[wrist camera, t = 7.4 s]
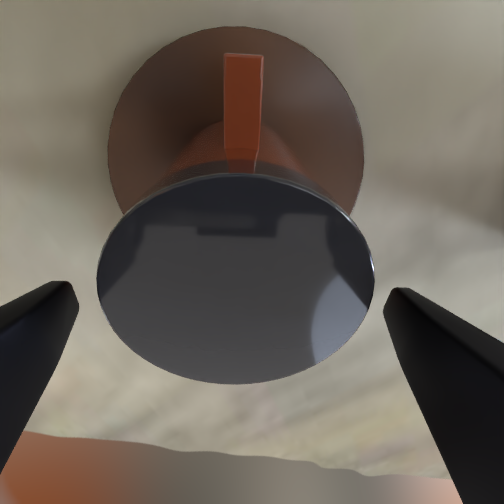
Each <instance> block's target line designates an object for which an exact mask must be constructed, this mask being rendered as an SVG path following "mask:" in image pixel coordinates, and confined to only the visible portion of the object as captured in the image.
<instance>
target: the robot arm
mask: <svg viewBox="0 0 504 504" xmlns="http://www.w3.org/2000/svg"><path fill="white" fill-rule="evenodd" d="M78 312H79V303H78V300H77V297H76V295H75V292H74V290H73V287H72V285H71V284H70V283H69V282H67V281H51V282H48V283H46V284H44V285H42V286H40V287H38V288H36V289H34V290H32V291H30V292H28V293H26V294H25V295H23V296H21V297H19V298H17V299H15V300H13V301H11V302H9V303H7V304H5V305H3V306H1V307H0V474H1V472H2V470H3V468H4V466H5V464H6V462H7V460H8V458H9V457H10V455H11V453H12V451H13V449H14V447H15V445H16V443H17V441H18V439H19V437H20V435H21V433H22V432H23V430H24V428H25V426H26V424H27V422H28V420H29V418H30V417H31V415H32V413H33V411H34V409H35V407H36V405H37V403H38V401H39V399H40V397H41V396H42V394H43V392H44V390H45V388H46V386H47V384H48V382H49V380H50V378H51V376H52V375H53V373H54V370H55V368H56V366H57V364H58V362H59V360H60V358H61V355H62V353H63V350H64V348H65V345H66V343H67V340H68V337H69V335H70V332H71V330H72V327H73V325H74V322H75V320H76V317H77V315H78ZM383 315H384V318H385V321H386V324H387V327H388V330H389V333H390V336H391V339H392V342H393V345H394V348H395V351H396V354H397V357H398V360H399V362H400V365H401V367H402V370H403V372H404V374H405V376H406V379H407V381H408V383H409V385H410V387H411V390H412V392H413V394H414V396H415V398H416V401H417V403H418V405H419V407H420V410H421V412H422V414H423V416H424V418H425V421H426V423H427V425H428V427H429V429H430V432H431V434H432V436H433V438H434V440H435V443H436V445H437V447H438V449H439V451H440V454H441V456H442V458H443V460H444V462H445V465H446V467H447V469H448V471H449V473H450V476H451V478H452V480H453V482H454V484H455V487H456V489H457V491H458V493H459V495H460V498H461V500H462V502H463V504H504V343H502V342H501V341H499V340H497V339H496V338H494V337H492V336H490V335H489V334H487V333H485V332H484V331H482V330H480V329H478V328H477V327H475V326H473V325H472V324H470V323H468V322H466V321H465V320H463V319H461V318H460V317H458V316H456V315H454V314H453V313H451V312H449V311H448V310H446V309H444V308H443V307H441V306H439V305H437V304H436V303H434V302H432V301H431V300H429V299H427V298H425V297H424V296H422V295H420V294H419V293H417V292H415V291H413V290H412V289H410V288H398V287H396V288H394V289H392V290H391V292H390V295H389V297H388V299H387V301H386V304H385V306H384V309H383Z"/></svg>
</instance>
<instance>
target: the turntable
mask: <svg viewBox="0 0 504 504" xmlns="http://www.w3.org/2000/svg"><path fill="white" fill-rule="evenodd" d="M225 53H237V54H253V55H262V56H264V74H263V93H262V109H261V124H263V125H266V126H268V127H269V128H271V129H273V130H274V131H276V132H277V133H278V134H280V135H281V136H282V137H283V138H284V139H285V140H286V141H287V142H288V143H289V145H290V146H291V147H292V149H293V150H294V151H295V153H296V154H297V155H298V157H299V158H300V159H301V161H302V162H303V163H304V164H305V166H306V167H307V168H308V170H309V171H310V172H311V174H312V175H313V176H314V178H315V179H316V180H317V182H318V183H319V184H320V185H321V187H322V188H324V189H325V190H326V191H328V192H329V193H330V194H331V195H332V196H333V197H334V198H335V200H336V201H337V202H338V203H339V204H340V205H341V206H342V207H343V209H344V210H345V211H346V212H347V214H348V215H349V216H350V214H351V212H352V210H353V208H354V205H355V203H356V200H357V197H358V194H359V191H360V186H361V182H362V177H363V166H364V147H363V138H362V133H361V127H360V123H359V120H358V117H357V114H356V111H355V108H354V106H353V104H352V102H351V100H350V98H349V96H348V94H347V92H346V90H345V89H344V87H343V86H342V84H341V83H340V81H339V80H338V78H337V77H336V76H335V74H334V73H333V72H332V71H331V70H330V69H329V68H328V67H327V66H326V65H325V64H324V63H323V62H322V61H321V60H320V59H319V58H318V57H316V56H315V55H314V54H313V53H311V52H310V51H309V50H307V49H306V48H305V47H303V46H301V45H299V44H298V43H296V42H294V41H292V40H290V39H288V38H287V37H284V36H281V35H278V34H275V33H272V32H270V31H267V30H262V29H256V28H250V27H217V28H211V29H206V30H201V31H198V32H195V33H192V34H189V35H187V36H184V37H181V38H179V39H177V40H176V41H174V42H172V43H170V44H168V45H167V46H165V47H163V48H162V49H161V50H159V51H158V52H157V53H156V54H154V55H153V56H152V57H151V58H149V59H148V60H147V61H146V62H145V63H144V64H143V65H142V66H141V68H140V69H139V70H138V71H137V72H136V73H135V74H134V75H133V77H132V78H131V80H130V82H129V83H128V85H127V86H126V88H125V89H124V91H123V93H122V95H121V97H120V99H119V102H118V104H117V106H116V108H115V111H114V115H113V118H112V122H111V126H110V131H109V140H108V167H109V173H110V179H111V184H112V187H113V190H114V194H115V197H116V199H117V202H118V204H119V206H120V209H121V211H122V213H123V215H124V214H125V213H126V212H127V211H128V210H129V208H130V207H131V206H132V205H133V204H134V202H135V201H136V200H137V199H138V198H139V197H140V196H141V195H142V194H143V193H145V192H146V191H147V190H148V189H149V188H150V187H151V186H153V185H154V184H155V183H156V182H157V181H158V179H159V178H160V177H161V176H162V174H163V173H164V172H165V171H166V169H167V168H168V167H169V165H170V164H171V163H172V162H173V160H174V159H175V158H176V157H177V155H178V154H179V153H180V152H181V150H182V149H183V148H184V146H185V145H186V144H187V143H188V141H189V140H190V139H191V138H192V137H193V136H194V135H195V134H196V133H198V132H199V131H201V130H202V129H203V128H205V127H207V126H209V125H211V124H214V123H217V122H220V121H224V96H223V56H224V54H225Z"/></svg>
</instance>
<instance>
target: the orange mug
mask: <svg viewBox="0 0 504 504" xmlns="http://www.w3.org/2000/svg"><path fill="white" fill-rule="evenodd" d="M263 74H264V56H262V55H253V54H237V53H225V54H224V56H223V96H224V121H220V122H217V123H214V124H211V125H209V126H207V127H205V128H203V129H202V130H201V131H199V132H198V133H196V134H195V135H194V136H193V137H192V138H191V139H190V140H189V141H188V143H187V144H186V145H185V146H184V148H183V149H182V150H181V152H180V153H179V154H178V155H177V157H176V158H175V159H174V160H173V162H172V163H171V164H170V165H169V167H168V168H167V169H166V171H165V172H164V173H163V174H162V176H161V177H160V178H159V179H158V181H157V182H156V183H155V184H154V185H153V186H151V187H150V188H149V189H148V190H147V191H146V192H145V193H143V194H142V195H141V196H140V197H139V198H138V199H137V200H136V201H135V202H134V204H133V205H132V206H131V207H130V208H129V210H128V211H127V212H126V213H125V214H124V216H123V217H122V218H121V219H120V221H119V222H118V223H117V224H116V226H115V227H114V228H113V230H112V231H111V232H110V234H109V236H108V238H107V240H106V242H105V244H104V246H103V248H102V251H101V254H100V258H99V261H98V268H97V277H96V280H97V293H98V297H99V301H100V305H101V308H102V310H103V313H104V315H105V317H106V319H107V321H108V323H109V324H110V326H111V327H112V329H113V330H114V332H115V333H116V334H117V335H118V337H119V338H120V339H121V340H122V341H123V342H124V343H125V344H126V345H127V346H128V347H129V348H130V349H131V350H132V351H134V352H135V353H136V354H138V355H139V356H141V357H142V358H143V359H145V360H146V361H148V362H150V363H152V364H153V365H155V366H157V367H159V368H161V369H163V370H166V371H168V372H170V373H173V374H176V375H179V376H182V377H185V378H189V379H193V380H197V381H203V382H208V383H217V384H253V383H261V382H267V381H272V380H277V379H280V378H284V377H287V376H291V375H293V374H296V373H299V372H301V371H304V370H306V369H308V368H310V367H312V366H314V365H316V364H318V363H320V362H321V361H323V360H325V359H326V358H328V357H329V356H330V355H332V354H333V353H335V352H336V351H337V350H338V349H340V348H341V347H342V346H343V345H344V344H345V343H346V342H347V341H348V340H349V339H350V338H351V337H352V335H353V334H354V333H355V332H356V331H357V329H358V328H359V326H360V325H361V323H362V322H363V320H364V318H365V316H366V314H367V312H368V309H369V307H370V303H371V300H372V297H373V291H374V283H375V278H374V264H373V260H372V255H371V252H370V249H369V247H368V244H367V242H366V240H365V237H364V236H363V234H362V233H361V231H360V230H359V228H358V227H357V225H356V224H355V222H354V221H353V220H352V219H351V217H350V216H349V215H348V214H347V212H346V211H345V210H344V209H343V207H342V206H341V205H340V204H339V203H338V202H337V201H336V200H335V198H334V197H333V196H332V195H331V194H330V193H329V192H328V191H326V190H325V189H324V188H322V187H321V185H320V184H319V183H318V182H317V180H316V179H315V178H314V176H313V175H312V174H311V172H310V171H309V170H308V168H307V167H306V166H305V164H304V163H303V162H302V161H301V159H300V158H299V157H298V155H297V154H296V153H295V151H294V150H293V149H292V147H291V146H290V145H289V143H288V142H287V141H286V140H285V139H284V138H283V137H282V136H281V135H280V134H278V133H277V132H276V131H274V130H273V129H271V128H269V127H268V126H266V125H263V124H261V109H262V93H263Z"/></svg>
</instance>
